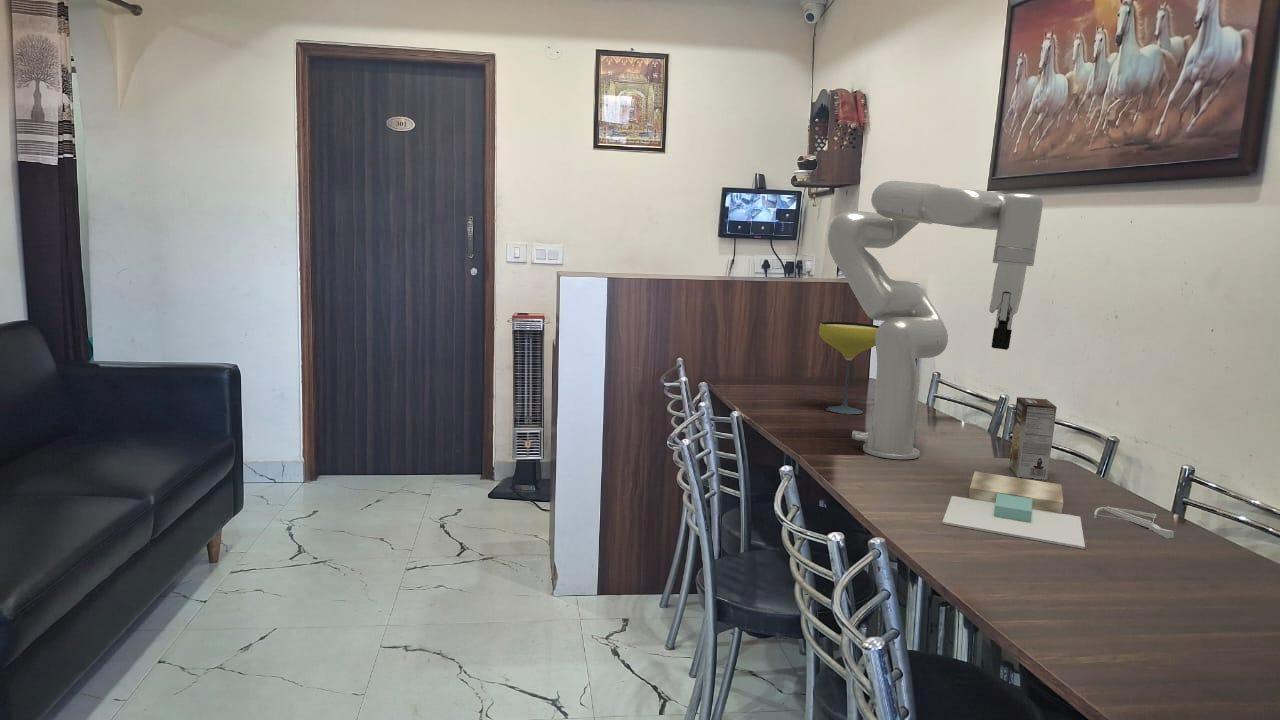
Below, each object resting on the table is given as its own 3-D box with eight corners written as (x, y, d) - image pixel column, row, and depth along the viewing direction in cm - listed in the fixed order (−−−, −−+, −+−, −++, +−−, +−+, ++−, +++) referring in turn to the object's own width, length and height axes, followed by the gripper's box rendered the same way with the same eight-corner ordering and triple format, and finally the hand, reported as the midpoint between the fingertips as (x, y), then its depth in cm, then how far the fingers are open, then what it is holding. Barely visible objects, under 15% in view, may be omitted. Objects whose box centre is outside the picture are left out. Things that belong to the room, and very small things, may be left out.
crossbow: (1074, 515, 160) (1075, 504, 160) (1133, 515, 163) (1134, 504, 162) (1138, 539, 145) (1139, 528, 145) (1202, 539, 147) (1203, 527, 147)
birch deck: (968, 500, 162) (969, 487, 162) (973, 483, 175) (974, 471, 174) (1061, 515, 155) (1063, 502, 155) (1059, 496, 168) (1061, 484, 168)
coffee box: (1007, 466, 190) (1015, 396, 188) (1038, 469, 189) (1046, 398, 186) (1016, 477, 181) (1025, 403, 179) (1049, 480, 180) (1058, 406, 177)
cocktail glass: (837, 418, 234) (845, 328, 230) (800, 405, 250) (807, 321, 247) (890, 416, 241) (898, 329, 237) (850, 404, 257) (857, 321, 254)
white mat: (942, 523, 147) (942, 521, 147) (951, 497, 163) (951, 495, 163) (1084, 549, 138) (1085, 546, 138) (1079, 518, 154) (1080, 516, 154)
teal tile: (993, 516, 151) (995, 505, 151) (995, 503, 160) (997, 493, 159) (1030, 522, 149) (1031, 511, 149) (1030, 509, 157) (1032, 498, 157)
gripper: (996, 254, 176) (983, 342, 180) (990, 256, 163) (976, 350, 167) (1036, 258, 173) (1022, 347, 176) (1032, 259, 160) (1017, 355, 163)
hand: (1000, 348), depth 171 cm, fingers closed
